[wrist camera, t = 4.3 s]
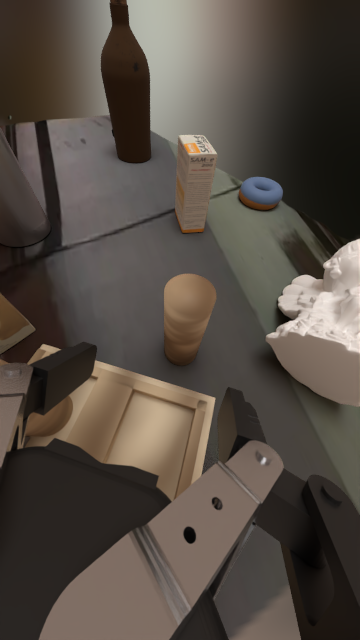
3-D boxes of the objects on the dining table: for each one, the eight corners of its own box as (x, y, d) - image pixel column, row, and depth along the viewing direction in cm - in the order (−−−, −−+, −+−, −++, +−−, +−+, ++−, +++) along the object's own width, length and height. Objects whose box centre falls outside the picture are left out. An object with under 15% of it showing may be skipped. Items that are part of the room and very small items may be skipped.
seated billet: (17, 428, 20) (-135, 412, 10) (45, 385, 22) (-55, 336, 12) (57, 442, 20) (-60, 441, 9) (81, 397, 22) (8, 357, 12)
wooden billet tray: (-37, 467, 19) (-65, 470, 17) (47, 347, 26) (36, 338, 24) (184, 554, 17) (187, 571, 15) (213, 399, 24) (218, 395, 22)
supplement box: (204, 232, 41) (219, 154, 30) (181, 234, 40) (188, 154, 29) (195, 209, 45) (205, 133, 34) (174, 210, 44) (177, 133, 33)
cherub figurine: (272, 306, 19) (345, 203, 26) (240, 351, 30) (297, 269, 37) (437, 401, 15) (470, 247, 22) (329, 412, 26) (374, 307, 33)
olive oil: (159, 154, 60) (156, -6, 39) (141, 167, 54) (126, -9, 33) (128, 146, 61) (109, -11, 40) (108, 158, 56) (73, -16, 35)
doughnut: (284, 212, 47) (293, 190, 43) (242, 213, 46) (248, 191, 43) (270, 194, 53) (276, 174, 49) (232, 195, 52) (236, 174, 49)
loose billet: (159, 359, 26) (156, 306, 16) (169, 331, 28) (173, 268, 18) (192, 369, 26) (210, 321, 15) (200, 340, 28) (220, 281, 18)
